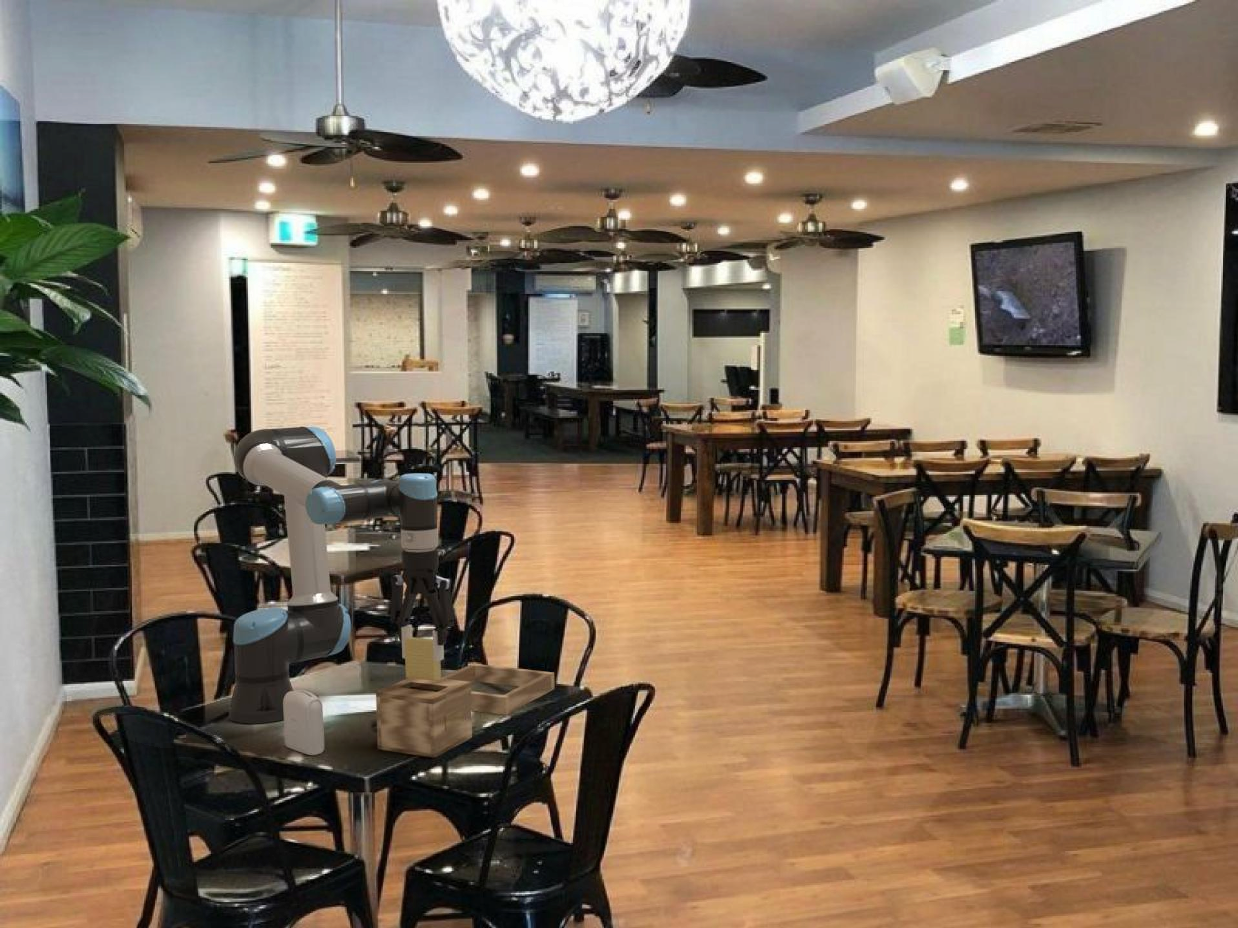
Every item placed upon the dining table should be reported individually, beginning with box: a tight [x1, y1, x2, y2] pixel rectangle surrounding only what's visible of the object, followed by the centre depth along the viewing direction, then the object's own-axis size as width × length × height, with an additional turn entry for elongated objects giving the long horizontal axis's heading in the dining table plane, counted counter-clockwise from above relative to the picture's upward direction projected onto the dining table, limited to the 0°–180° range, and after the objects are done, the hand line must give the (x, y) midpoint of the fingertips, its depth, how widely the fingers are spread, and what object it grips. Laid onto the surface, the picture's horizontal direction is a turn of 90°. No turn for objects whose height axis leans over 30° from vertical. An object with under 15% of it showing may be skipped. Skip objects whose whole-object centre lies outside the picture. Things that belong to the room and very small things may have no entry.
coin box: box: [375, 677, 473, 759], centre depth 248 cm, size 14×14×12 cm
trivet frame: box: [441, 663, 555, 716], centre depth 283 cm, size 23×23×4 cm
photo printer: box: [283, 689, 325, 756], centre depth 245 cm, size 10×4×12 cm, turn 47°
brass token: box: [404, 636, 442, 681], centre depth 247 cm, size 7×2×8 cm, turn 65°
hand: (423, 658), depth 247 cm, fingers closed on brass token, 7 cm apart
